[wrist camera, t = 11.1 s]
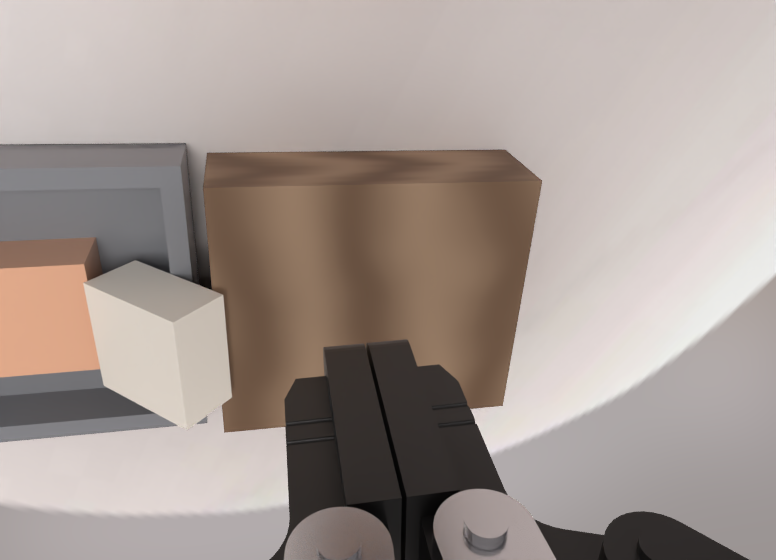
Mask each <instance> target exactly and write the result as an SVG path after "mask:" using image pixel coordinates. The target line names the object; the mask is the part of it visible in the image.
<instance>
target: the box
mask: <svg viewBox="0 0 776 560" xmlns="http://www.w3.org/2000/svg"><path fill="white" fill-rule="evenodd" d="M90 237H96V241H97V246H98V251H99V257H100V262H101V267H102V272H103V274H105V273H107V272H109V271H112V270H114V269H116V268H119V267H121V266H123V265H125V264H128V263H130V262H132V261H135V260H136V261H139V262H141V263H144V264H147V265H149V266H152V267H154V268H157V269H159V270H162V271H164V272H167V273H169V274H172V275H174V276H177V277H180V278H182V279H185V280H187V281H190V282H192V283H195V284H197V285H199V276H198V265H197V255H196V245H195V235H194V224H193V214H192V204H191V193H190V183H189V173H188V163H187V152H186V143H167V144H31V145H0V242H1V241H23V240H46V239H68V238H90ZM202 423H207V416H206V417H205V418H203V419H202V420H201V421H199V422H198V423H197V424H202ZM169 426H178V425H176V424H174V423H173V422H171V421H169V420H167V419H165V418H163V417H161V416H159V415H158V414H156V413H154V412H152V411H150V410H148V409H146V408H145V407H143V406H141V405H139V404H137V403H135V402H133V401H132V400H130V399H128V398H126V397H124V396H122V395H120V394H119V393H117V392H115V391H113V390H111V389H109V388H107V387H106V386H104V384H103V379H102V375H101V370H100V369H96V370H84V371H72V372H60V373H48V374H36V375H24V376H12V377H0V442H8V441H19V440H30V439H41V438H51V437H62V436H73V435H83V434H94V433H105V432H116V431H126V430H137V429H148V428H159V427H169Z"/></svg>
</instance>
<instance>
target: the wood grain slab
mask: <svg viewBox="0 0 776 560" xmlns="http://www.w3.org/2000/svg"><path fill="white" fill-rule="evenodd" d="M541 184H542V180H540V179H539V178H538V177H537V176H536V175H535V174H533V173H532V172H531V171H530V170H529V169H527V168H526V167H525V166H524V165H523V164H522V163H520V162H519V161H518V160H517V159H516V158H514V157H513V156H512V155H511V154H510V153H508V152H507V151H506V150H442V151H345V152H247V153H207V159H206V168H205V176H204V185H203V192H204V204H205V215H206V227H207V238H208V249H209V261H210V272H211V284H212V290H213V291H215V292H218V293H220V294H223V298H224V309H225V321H226V333H227V345H228V356H229V368H230V380H231V392H232V398H230V399H229V400H228V401H226V402H225V403H224V404H222V410H223V421H224V433H225V432H235V431H245V430H256V429H266V428H276V427H286V424H285V403H284V399H285V397H286V396H287V394H288V392H289V390H290V388H291V386H292V385H293V383H294V381H295V379H299V378H309V377H319V376H324V360H323V347H330V346H341V345H352V344H363V343H364V345H365V348H366V344H367V343H372V342H382V341H393V340H404V339H407V340H408V341H409V344H410V346H411V349H412V352H413V355H414V358H415V361H416V364H417V366H427V365H437V364H440V365H441V366H442V367H443V368H444V369H445V370H446V371H447V372H449V373H450V374H451V375H452V376H453V377H454V378H455V379H456V380H458V381H459V384H460V386H461V388H462V391H463V393H464V396H465V398H466V400H467V405H468V406H469V407H470V409H473V408H483V407H494V406H503V400H504V394H505V389H506V383H507V377H508V372H509V366H510V360H511V355H512V349H513V343H514V338H515V332H516V326H517V321H518V315H519V309H520V304H521V298H522V292H523V287H524V281H525V275H526V270H527V264H528V258H529V253H530V247H531V241H532V235H533V230H534V224H535V218H536V213H537V207H538V201H539V196H540V190H541Z"/></svg>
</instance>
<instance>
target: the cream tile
mask: <svg viewBox="0 0 776 560" xmlns="http://www.w3.org/2000/svg"><path fill="white" fill-rule="evenodd" d="M83 285H84V290H85V295H86V300H87V305H88V310H89V315H90V320H91V325H92V330H93V335H94V340H95V345H96V350H97V355H98V360H99V365H100V370H101V375H102V379H103V384H104V386H106V387H107V388H109V389H111V390H113V391H115V392H117V393H119V394H120V395H122V396H124V397H126V398H128V399H130V400H132V401H133V402H135V403H137V404H139V405H141V406H143V407H145V408H146V409H148V410H150V411H152V412H154V413H156V414H158V415H159V416H161V417H163V418H165V419H167V420H169V421H171V422H173V423H174V424H176V425H178V426H180V427H182V428H184V429H186V430H188V429H190V428H191V427H193V426H194V425H195V424H197V423H198V422H199V421H201V420H202V419H203V418H205V417H206V416H207V415H209V414H210V413H211V412H213V411H214V410H216V409H217V408H218V407H220V406H221V405H222V404H224V403H225V402H226V401H228V400H229V399H230V398H232V392H231V380H230V368H229V356H228V345H227V333H226V321H225V309H224V298H223V294H220V293H218V292H215V291H213V290H210V289H207V288H205V287H202V286H200V285H197V284H195V283H192V282H190V281H187V280H185V279H182V278H180V277H177V276H174V275H172V274H169V273H167V272H164V271H162V270H159V269H157V268H154V267H152V266H149V265H147V264H144V263H141V262H139V261H136V260H135V261H132V262H130V263H128V264H125V265H123V266H121V267H119V268H116V269H114V270H112V271H109V272H107V273H105V274H103V275H100V276H98V277H96V278H93V279H91V280H89V281H87V282H84V283H83Z"/></svg>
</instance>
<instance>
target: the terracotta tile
mask: <svg viewBox="0 0 776 560" xmlns="http://www.w3.org/2000/svg"><path fill="white" fill-rule="evenodd" d="M100 275H103V272H102V267H101V262H100V257H99V251H98V246H97V241H96V237H90V238H68V239H46V240H23V241H1V242H0V377H12V376H24V375H36V374H48V373H60V372H72V371H84V370H96V369H100V365H99V360H98V355H97V350H96V345H95V340H94V335H93V330H92V325H91V320H90V315H89V310H88V305H87V300H86V295H85V290H84V285H83V283H84V282H87V281H89V280H91V279H93V278H96V277H98V276H100Z"/></svg>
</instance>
